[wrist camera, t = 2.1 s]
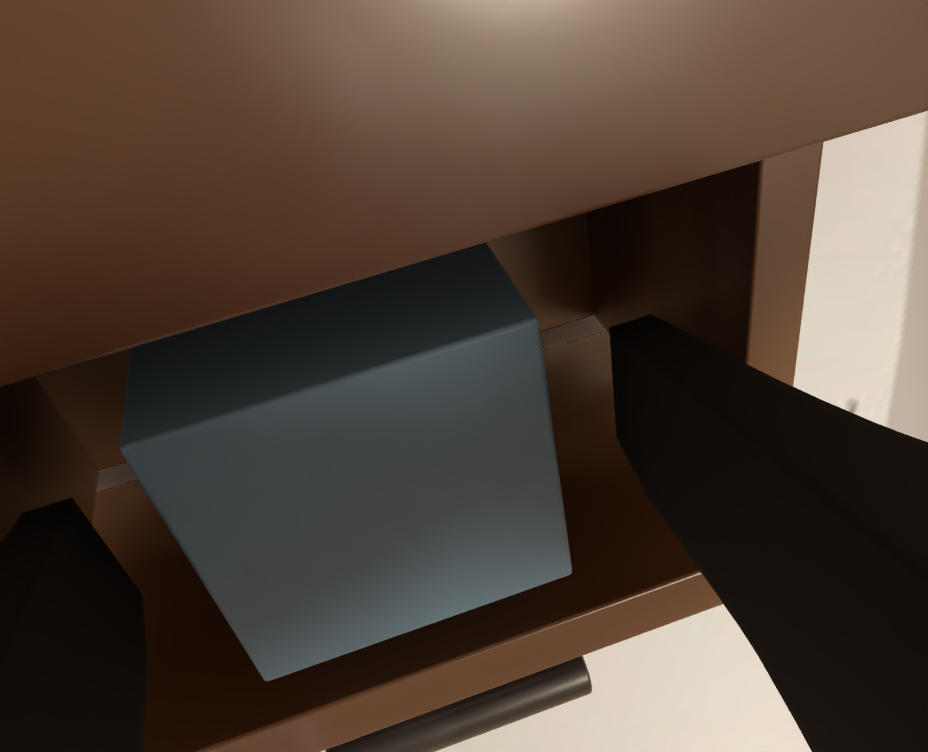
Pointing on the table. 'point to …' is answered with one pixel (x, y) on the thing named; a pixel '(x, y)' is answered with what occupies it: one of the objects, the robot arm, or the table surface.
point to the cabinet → (378, 137)
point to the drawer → (580, 469)
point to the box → (355, 457)
